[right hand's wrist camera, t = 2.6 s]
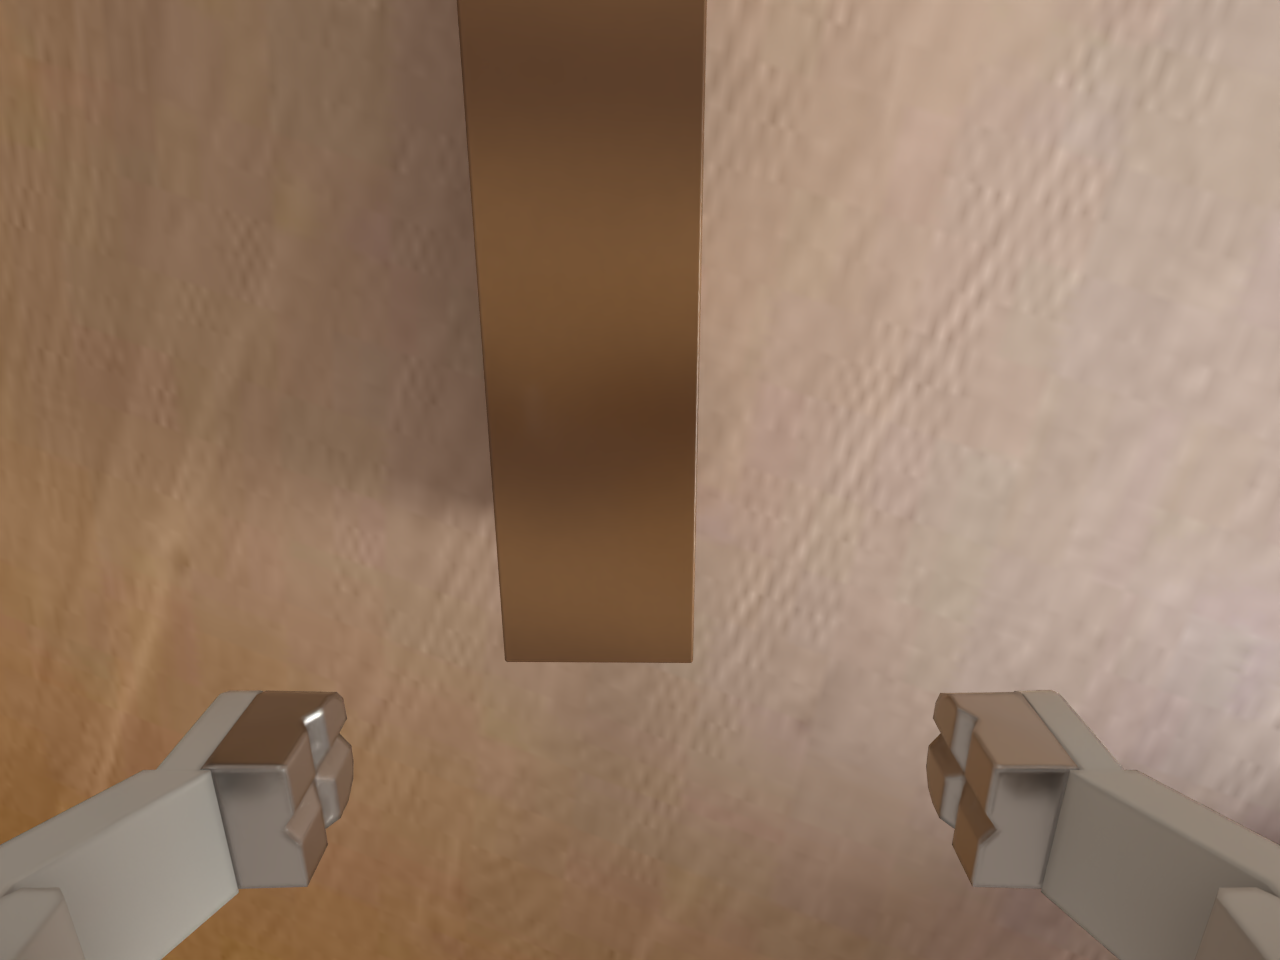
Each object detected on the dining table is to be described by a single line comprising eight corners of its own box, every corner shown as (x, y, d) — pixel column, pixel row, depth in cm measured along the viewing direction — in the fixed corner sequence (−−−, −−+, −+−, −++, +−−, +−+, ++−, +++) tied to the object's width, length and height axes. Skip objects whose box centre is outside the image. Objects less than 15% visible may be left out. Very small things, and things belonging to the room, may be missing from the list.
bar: (681, 521, 29) (692, 663, 20) (550, 521, 29) (504, 663, 20) (694, -432, 20) (726, -933, 11) (505, -428, 20) (388, -922, 11)
